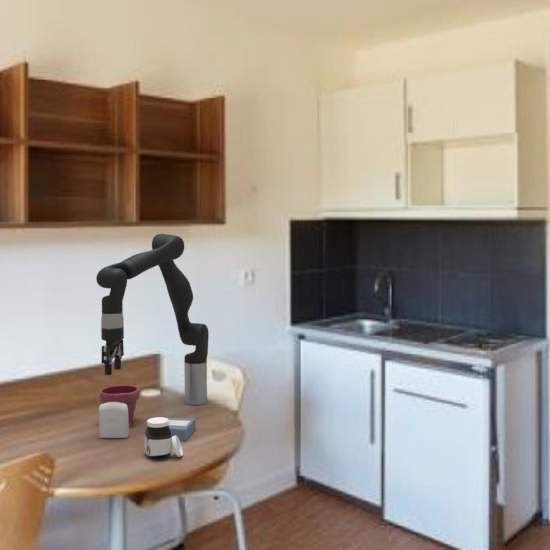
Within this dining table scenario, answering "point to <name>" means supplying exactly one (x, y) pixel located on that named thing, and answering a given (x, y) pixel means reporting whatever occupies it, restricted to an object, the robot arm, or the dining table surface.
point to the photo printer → (113, 420)
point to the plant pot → (121, 397)
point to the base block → (182, 427)
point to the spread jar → (160, 439)
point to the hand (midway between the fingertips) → (113, 372)
